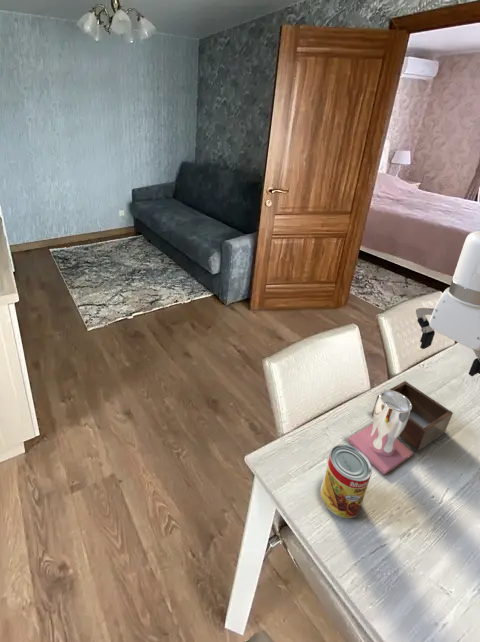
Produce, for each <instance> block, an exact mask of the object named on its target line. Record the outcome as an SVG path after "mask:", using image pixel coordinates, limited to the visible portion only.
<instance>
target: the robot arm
mask: <svg viewBox="0 0 480 642" xmlns="http://www.w3.org/2000/svg"><path fill="white" fill-rule="evenodd" d="M415 315H416V318H417V320H416V321H417V323H418V324H419V326H420V331H421V333H422V334H421V337H420V340H419V342H420V345H419V346H420V347H419V348H420V349H422V350H425V349H428V348H429V347H431V346H432V343H433V340H434V337H435V334H436V332H437V333H438V334H440V335H441V336H444V337H446V338H448V339H449V340H453V341H454V342H456V343H458V344H460V345H462V346H465V347H467V348H468V349H471V350H472V351H473V353H474V355H475V356H476V357H475V358H474V360H473V361H472V364H471V366H470V369H469V371H468V375H469V376H470V377H474V376H476V375H477V374H479V375H480V230H478V231H477V230H476V231H472V232H470V233H469V234H468V235H467V236H466V238H465V240H464V243H463V245H462V249H461V252H460V254H459V258H458V261H457V265H456V267H455V270H454V272H453V276H452V279H451V282H450V285H449V287H447V288H445V290H444V291H443V292H442V294H441V295H440V297H439V299H438V300H437V302H436V303H435V306H434V307H431V308H430V307H419V308H416V309H415ZM426 316H430V318H429V320H428V318H427V317H426Z"/></svg>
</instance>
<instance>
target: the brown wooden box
mask: <svg viewBox="0 0 480 642" xmlns="http://www.w3.org/2000/svg"><path fill="white" fill-rule="evenodd" d="M388 390H393V391H396V392H398V393H400V394H402V395H404V396H405V397H406V398H407V399H408V400H409V401H410V402H411V404H412V409H411V412H413V413H415V414H416V415H417V416H419V417H420V418H422V419H423V420H424V421H426V422H427V423H428V425H426V426H424V427H423V426H422V425H421V424H419V423H418V422H417V421H416V420H414V419H413V418H411V417H409V420H408V423H407V425H406V427H405V429H404V431H403V432H402V433H401V435H400V436H399V437H398V438H400V439H401V440H402V441H404V442H405V443H406V444H407V445H408V446H410V447H411V448H412V449H413V450H415V451H416V452H419V451H420V450H422V449H423V448H425V447H426V446H427V445H429V444H431V443H432V442H433V441H435V440H436V439H437V438H439V437H440V436H442V435H443V434H444V433H446V431H447V428H448V426H449V423H450V421H451V419H452V417H453V414H454V412H453V411H451V410H449V409H448V408H447V407H445V406H443V405H442V404H440V403H439V402H438V401H436V400H435V399H434V398H432V397H430V396H429V395H427V394H425V393H424V392H422V391H421V390H419V389H418V388H417V387H415V386H414V385H413V384H410V383H409V382H407V380H404V381H402V382H400V383H398V384H397V385H395V386H393V387H391V388H389V389H388ZM379 395H380V394H379ZM379 395H377V397H376V399H375V403H374V406H373V410H372V412H371V416H373V414H374V408H375V405H376V402H377V400H378V398H379Z"/></svg>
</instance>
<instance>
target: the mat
mask: <svg viewBox="0 0 480 642" xmlns="http://www.w3.org/2000/svg"><path fill="white" fill-rule="evenodd" d="M372 428H373V423H371V424H370V425H368V426H366V427H365V428H363V429H361V430H360V431H358V432H356V433H354V434H352V435H351V436H350V437H348V438H347V442H348V443H349V444H351V446H352V447H354V448H356V449H358V450H359V451H360V452H362V453H363V454H364V455H365V456H366V457H367V459H368V460H369V462H370V464H371V465H373V466H374V467H375V468H376V469H377V470H378V471H379V472H380V473H381V474H382V475H384V476H385V475H387V474H388V473H390V472H391V471H392V470H394V469H395V468H396V467H398V466H400V465H401V464H402V463H404V462H405V461H406V460H408V459H409V458H411V457H412V456H413V455H414V452H413V451H412V450H410V449H409V448H408V447H407V445H405V444H403V443H402V442H401V441H400V440H398V439H397V441H396V444H395V452H394V454H393V455H391V456H383V455H380V454H378V453H376V452H375V451H374V450H373V449H372V448H371V447H370V446H369V444H368V442H367V438H368V436H369V434H370V433H371V431H372Z"/></svg>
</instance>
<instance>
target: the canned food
mask: <svg viewBox="0 0 480 642" xmlns="http://www.w3.org/2000/svg"><path fill="white" fill-rule="evenodd" d="M372 473H373V467H372V463H371V462H370V461H369V460H368V459H367V457H366V456H365V455H364V454H363V453H362V452H360V451H359V450H358V449H356V448H355V447H354V446H353V445H349V444H344V443H341V444H336V445H334V446H333V447H332V448H331V450H330V452H329V456H328V460H327V464H326V467H325V471H324V474H323V475H324V476H323V479H322V483H321V487H320V496H321V500H322V502H323V504H324V505H325V506H326V508H327V509H328V510H329V511H330V512H331V513H332V514H334V515H335V516H337V517H340V518H341V519H353V518H355V517H357V515H358V514H359V512H360V510H361V507H362V504H363V501H364V498H365V494H366V491H367V489H368V485H369V483H370V480H371V477H372Z"/></svg>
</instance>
